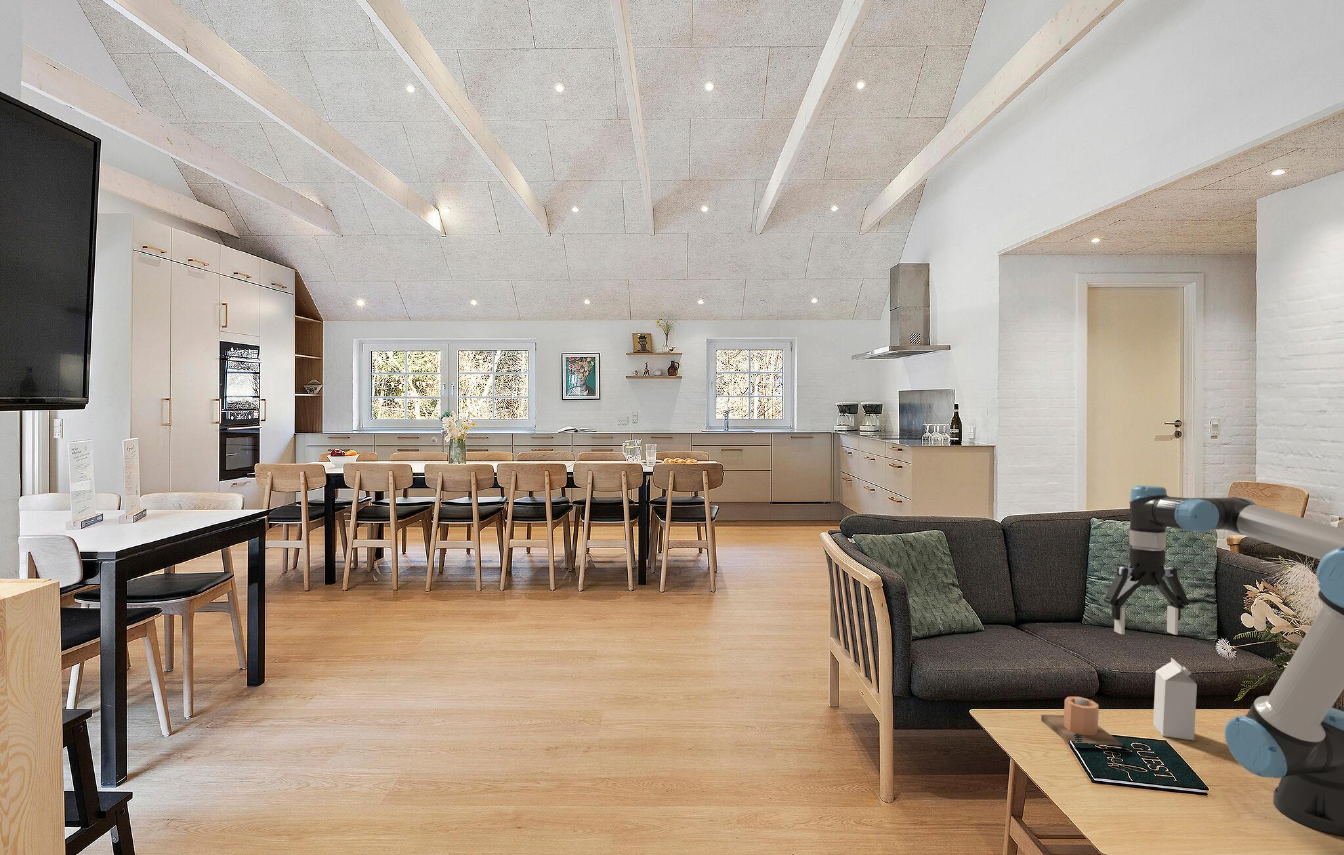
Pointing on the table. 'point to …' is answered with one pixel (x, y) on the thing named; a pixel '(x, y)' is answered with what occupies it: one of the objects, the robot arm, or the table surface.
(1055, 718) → the block
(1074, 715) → the ring
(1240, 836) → the table surface
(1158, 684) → the milk carton
